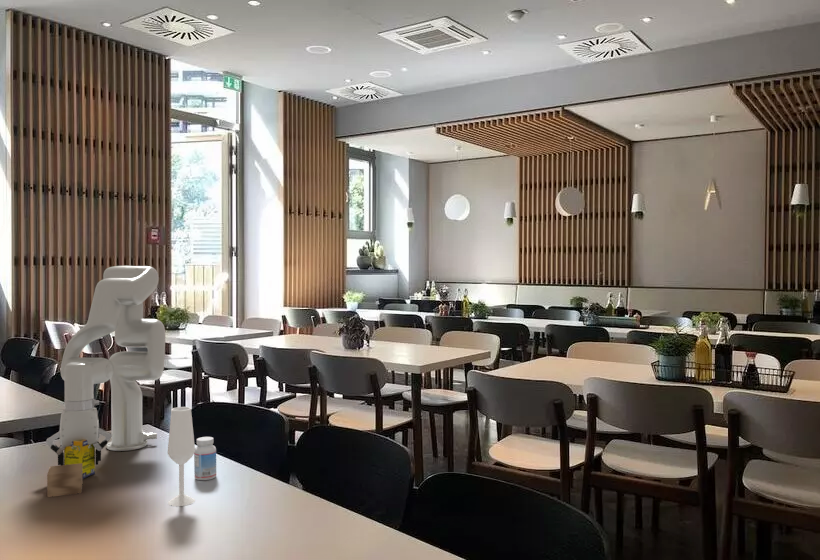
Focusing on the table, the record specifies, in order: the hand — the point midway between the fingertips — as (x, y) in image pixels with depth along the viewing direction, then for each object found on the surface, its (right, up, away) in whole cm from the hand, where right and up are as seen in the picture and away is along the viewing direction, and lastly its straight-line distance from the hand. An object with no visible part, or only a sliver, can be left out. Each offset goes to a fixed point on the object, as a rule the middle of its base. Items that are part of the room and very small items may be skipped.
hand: (79, 465), depth 197 cm
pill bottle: (+36, -4, -1) cm, 36 cm away
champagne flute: (+36, -4, -20) cm, 42 cm away
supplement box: (0, -3, 0) cm, 3 cm away
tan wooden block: (+2, -4, -12) cm, 13 cm away
